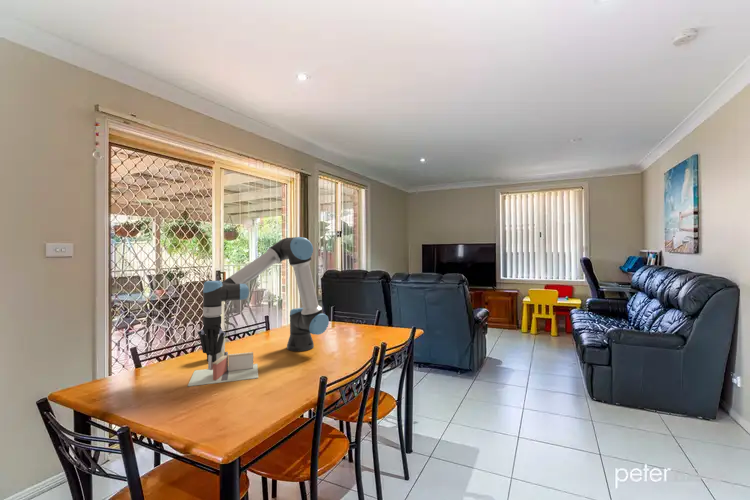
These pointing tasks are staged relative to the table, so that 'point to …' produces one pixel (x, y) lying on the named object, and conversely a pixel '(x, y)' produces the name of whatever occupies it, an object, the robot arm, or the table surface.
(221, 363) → the red rectangular panel
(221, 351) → the cup
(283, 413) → the table surface
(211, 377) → the card
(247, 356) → the fence fixed
